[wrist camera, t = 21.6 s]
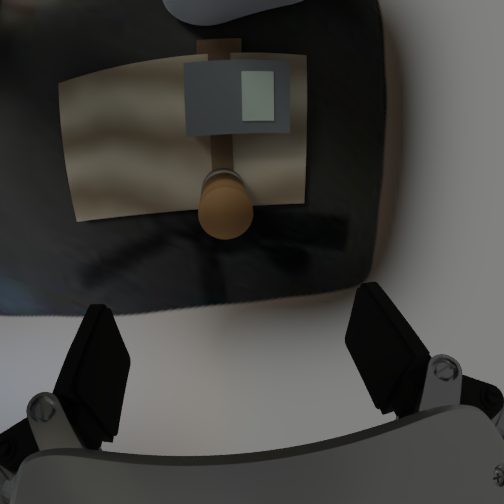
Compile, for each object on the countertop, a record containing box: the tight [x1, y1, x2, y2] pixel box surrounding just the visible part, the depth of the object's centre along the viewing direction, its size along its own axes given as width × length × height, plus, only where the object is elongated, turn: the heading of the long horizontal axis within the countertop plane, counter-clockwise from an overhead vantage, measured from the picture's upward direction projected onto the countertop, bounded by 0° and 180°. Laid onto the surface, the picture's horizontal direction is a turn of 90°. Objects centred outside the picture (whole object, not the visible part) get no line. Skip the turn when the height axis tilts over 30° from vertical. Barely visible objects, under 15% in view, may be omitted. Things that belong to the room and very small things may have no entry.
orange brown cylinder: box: [198, 168, 253, 239], centre depth 24 cm, size 4×4×7 cm
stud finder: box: [184, 60, 290, 137], centre depth 21 cm, size 6×8×4 cm
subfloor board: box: [58, 38, 307, 222], centre depth 24 cm, size 18×24×1 cm
